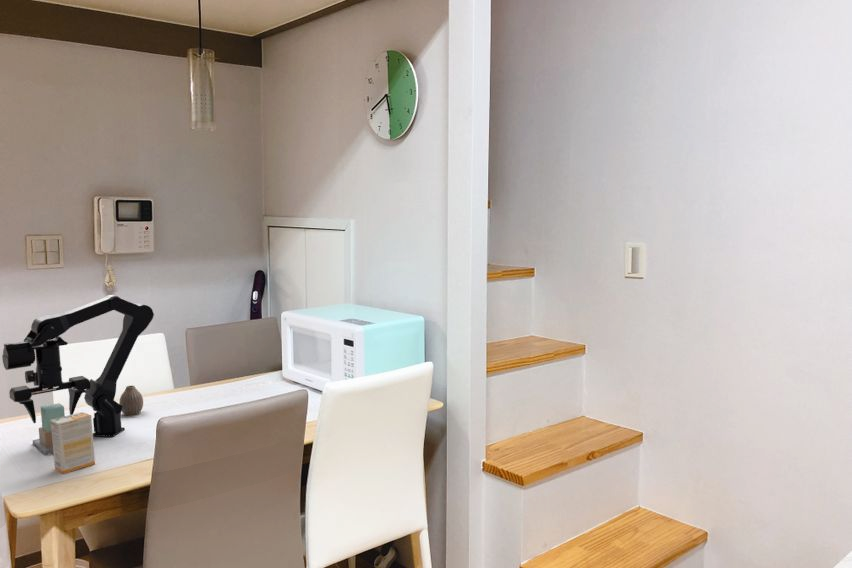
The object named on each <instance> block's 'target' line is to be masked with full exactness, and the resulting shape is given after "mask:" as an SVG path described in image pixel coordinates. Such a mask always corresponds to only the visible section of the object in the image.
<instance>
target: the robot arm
mask: <svg viewBox="0 0 852 568" xmlns="http://www.w3.org/2000/svg"><path fill="white" fill-rule="evenodd" d="M112 311H115V312H118V313H120V314H121V315H124V316H123V319H122V329H121V332H120V334H119V337H118V339H117V341H116V343H115V345H114V347H113V349H112V352H111V354H110V355H109V357H108V359H107V362H106V364H105V366H104V368H103V369H102V372H101V374H100V375H99V377H98V378H96V379H95V380H93V379H92V378H91V379H89V378H87V377H85V376H83V375H80V376H78V375H77V376H73V377H69V378H68V381H63V378H62V371H63V368H62V367H63V366H62V364H61V352H60V346H67V345H68V342H67V341H65V339H63V338H62V337H61V336H62V335H63V334H64V333H66V332H67V331H68V330H70V329H71V328H72V327H74V326H76V325H79V324H81V323H82V324H83V323H84V322H86V321H89V320H92V319H95V318H97V317H100V316H101V315H104V314H107V313H109V312H112ZM154 317H155V313H154V310H153V309H152V307H151V306H149V305H148V304H147V305H146V304H143V303H138V302H131V301H128V300H126V299H123V298H121V297H120V296H118V295H113V294H109V295H106V296H104V297H103V298H100V299H97V300H94V301H92V302H89V303H87V304H84V305H82V306H81V305H80V306H79V307H75V308H74V309H70V310H68V311H65V312H59V313H53V314H52V313H51V314H47V315H42V316H41V315H40V316H38V317H36V318H35V319H34V320H33V322H32V323H31V326H30V328H31V329H30V331H29V332H28V333H27V335H26V337H25V338H24V339H23V341H21V342H9V343H4V344H3V350H2V356H1V357H2V358H1V359H2V365H3V367H4V369H5V370H6V371H7V370H15V369H16V370H17V369H20V368H21V369H22V368H27V367H31V366H32V364H34V363H36V366H35V370H31V369H30V370H26V371H25V372H24V378H25V382H26V384H30V383H33V386H34V387H31V388H30V387H28V386H27V385H20V386H15V387H11V388H10V389H9V393H8V394H9V399H10V400H11V401H12V402H14V403H19V404H20V405H23V406H24V407H25V409H26V411H27V413H28V415H29V416H30V419H31V421H32V423H33V424H36V423H37V416H36V409H35V403H34V400H33V399H32V396H35V395H40V394H46V393H51V392H57V391H62V390H67V391H68V396H69V400H68V401H69V402H68V403H69V404H68V407H69V410H68V411H69V415H72V414H75V411H76V407H77V404H78V402H79V400H80V398H81V396H82V394H83V393H85V394H84V402H85V404H87V405H88V406H89V407H90V408H92V409H93V412H94V413H93V417H92V426H93V437H115V436H116V435H118V434H120V433H121V432H122V431H124V430H125V427H123V426H122V417H121V416H122V415H121V414H122V407H123V406H122V405H120V404H119V402H118V401H116V400H115V397H116V393H117V383H118V382H117V381H118V380H119V378H120V376H121V373H122V371H123V369H124V367H125V365H126V363H127V361H128V359H129V357H130V354H131V352H132V350H133V348H134V345H135V344H136V342H137V339H138V338H139V336H140V335H141V334H143V332H144V331H146V329H147V328H148V326H149V325H150V324H151V322H152V321H153V319H154ZM34 371H35V372H34ZM35 386H36V387H35Z"/></svg>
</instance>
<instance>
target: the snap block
mask: <svg viewBox="0 0 852 568" xmlns="http://www.w3.org/2000/svg"><path fill="white" fill-rule="evenodd" d="M40 414H41V427H42V428H43V429H44V430H46V431H47V432H49V431H51V421H50V420H52V419H56V418H60V417H64V416H66V415H65V406H64V405H63V404H61V403H59V402H58V403H53V404H47V405H41V406H40Z"/></svg>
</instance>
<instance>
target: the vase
mask: <svg viewBox="0 0 852 568" xmlns="http://www.w3.org/2000/svg"><path fill="white" fill-rule="evenodd" d="M118 403H119V404H120V405H122V406H123V407H122V411H121V413H122V414H124V415H125V416H135V415H138V414H140V413H141V412H142V409H143V407H144V397H143V396H142V393H141V392H140V391H139V390H138V389H137V388H136V387H135V385H127V386H125V389H124V391H123V392H122V393H121V395H120V398H119V402H118Z"/></svg>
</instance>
